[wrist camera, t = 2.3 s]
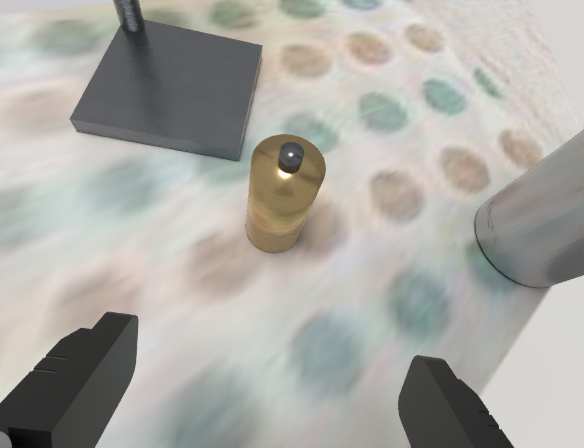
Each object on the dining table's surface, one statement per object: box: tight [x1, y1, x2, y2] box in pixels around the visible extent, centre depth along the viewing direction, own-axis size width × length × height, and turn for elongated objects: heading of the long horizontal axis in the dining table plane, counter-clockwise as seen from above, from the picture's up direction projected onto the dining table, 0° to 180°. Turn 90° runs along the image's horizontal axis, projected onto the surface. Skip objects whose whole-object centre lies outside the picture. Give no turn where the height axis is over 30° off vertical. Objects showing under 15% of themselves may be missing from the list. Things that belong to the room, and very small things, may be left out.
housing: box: [246, 134, 326, 253], centre depth 24 cm, size 4×4×10 cm
